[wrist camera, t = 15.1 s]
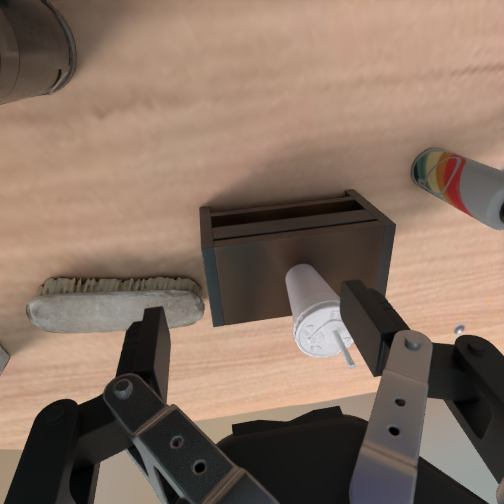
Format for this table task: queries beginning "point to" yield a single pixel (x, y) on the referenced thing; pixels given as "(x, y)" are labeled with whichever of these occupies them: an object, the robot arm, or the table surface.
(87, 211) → the table surface
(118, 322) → the shoe brush
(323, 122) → the table surface
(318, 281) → the smoothie
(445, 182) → the lotion bottle
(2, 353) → the candy bar box
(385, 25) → the table surface
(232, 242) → the box
